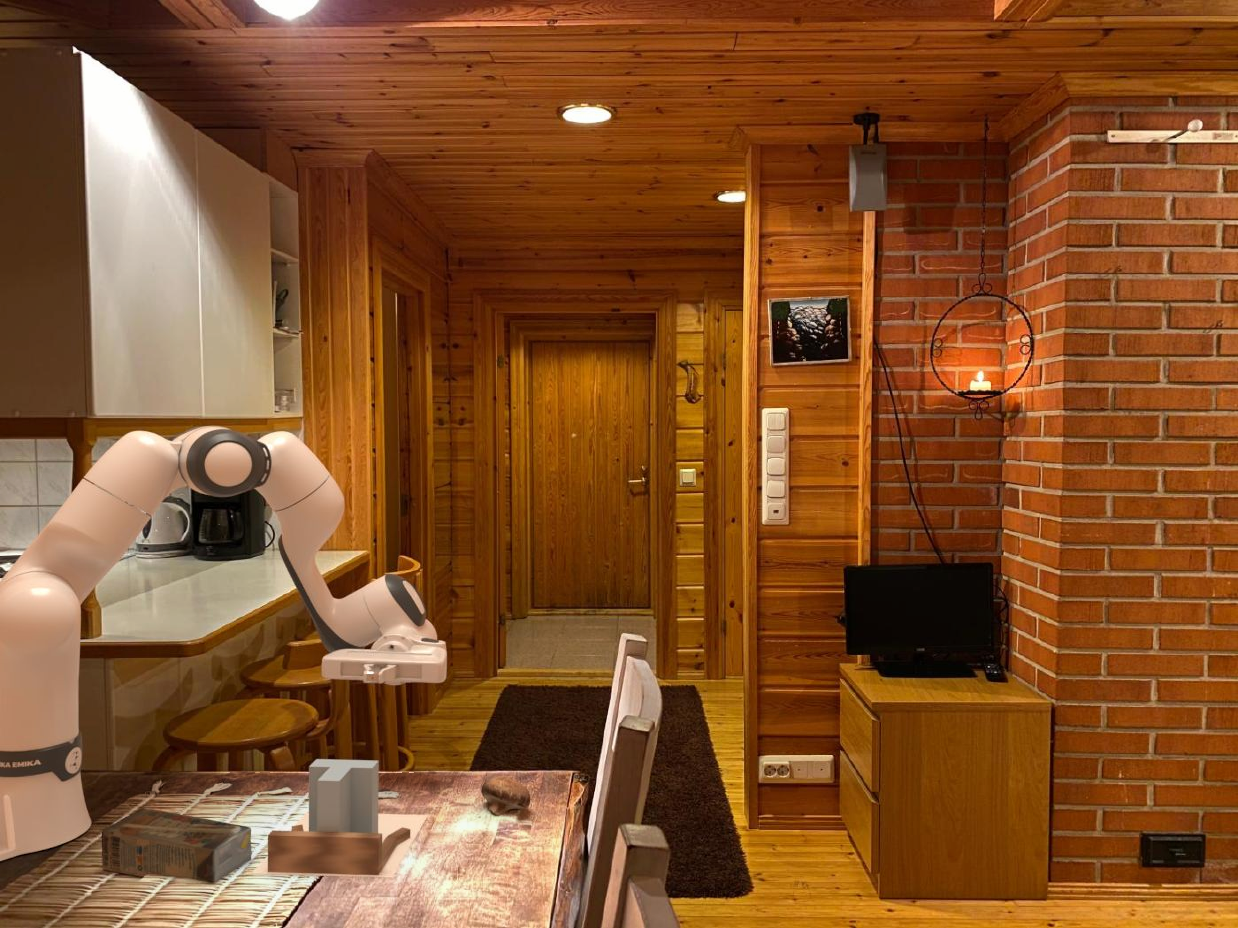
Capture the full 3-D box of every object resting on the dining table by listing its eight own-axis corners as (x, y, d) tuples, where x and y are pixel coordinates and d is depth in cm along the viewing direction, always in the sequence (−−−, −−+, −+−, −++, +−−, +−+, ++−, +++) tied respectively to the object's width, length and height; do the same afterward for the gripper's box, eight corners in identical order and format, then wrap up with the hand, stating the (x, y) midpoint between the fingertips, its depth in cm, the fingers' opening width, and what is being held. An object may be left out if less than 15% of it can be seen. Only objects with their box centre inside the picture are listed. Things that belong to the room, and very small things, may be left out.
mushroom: (487, 809, 138) (500, 768, 142) (465, 812, 144) (478, 773, 148) (531, 826, 141) (543, 786, 145) (508, 828, 147) (519, 790, 151)
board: (251, 880, 122) (251, 873, 122) (306, 818, 142) (306, 811, 142) (392, 884, 121) (392, 877, 121) (427, 821, 141) (428, 814, 141)
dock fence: (258, 871, 122) (258, 834, 122) (293, 832, 134) (293, 798, 134) (388, 875, 122) (388, 838, 122) (411, 835, 134) (411, 801, 134)
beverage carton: (213, 893, 119) (213, 844, 118) (97, 873, 124) (97, 826, 124) (253, 866, 126) (253, 820, 126) (142, 848, 131) (142, 803, 131)
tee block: (295, 867, 124) (295, 779, 123) (316, 841, 132) (316, 758, 131) (360, 869, 123) (361, 781, 123) (378, 842, 131) (378, 760, 131)
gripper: (337, 637, 158) (307, 655, 144) (454, 641, 157) (436, 660, 143) (336, 673, 158) (306, 695, 144) (453, 677, 157) (435, 700, 143)
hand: (372, 677), depth 143 cm, fingers closed
